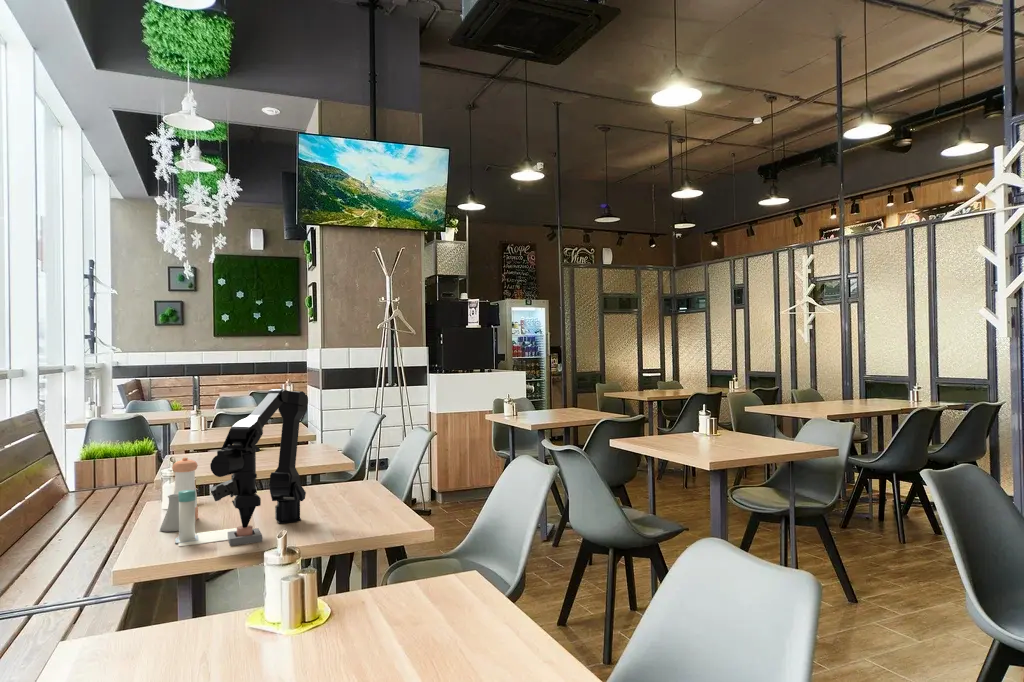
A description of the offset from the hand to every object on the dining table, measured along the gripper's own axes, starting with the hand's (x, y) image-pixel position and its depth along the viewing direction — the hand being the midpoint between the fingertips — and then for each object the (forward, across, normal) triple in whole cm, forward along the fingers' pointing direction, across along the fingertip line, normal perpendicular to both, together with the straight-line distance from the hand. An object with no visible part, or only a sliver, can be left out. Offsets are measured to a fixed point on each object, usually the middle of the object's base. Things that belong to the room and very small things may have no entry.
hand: (244, 527), depth 178 cm
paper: (+3, -8, -8) cm, 12 cm away
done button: (+3, 0, 0) cm, 3 cm away
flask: (+4, -23, -17) cm, 29 cm away
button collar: (+3, 0, 0) cm, 3 cm away
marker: (+3, -8, -14) cm, 16 cm away
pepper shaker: (+4, -34, -14) cm, 37 cm away
